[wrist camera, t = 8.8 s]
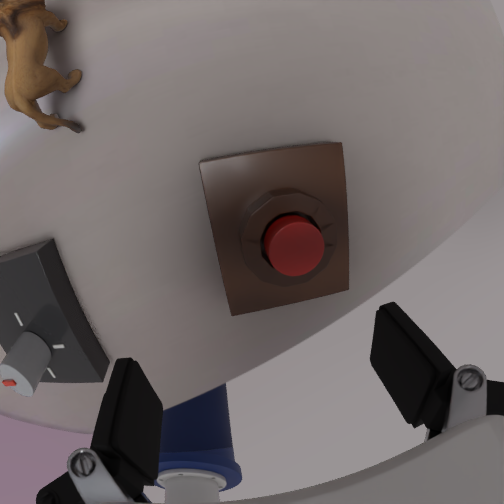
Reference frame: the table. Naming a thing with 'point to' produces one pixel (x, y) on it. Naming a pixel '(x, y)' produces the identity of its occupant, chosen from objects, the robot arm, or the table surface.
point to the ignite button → (293, 245)
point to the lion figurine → (32, 60)
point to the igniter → (269, 210)
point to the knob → (25, 364)
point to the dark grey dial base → (48, 314)
